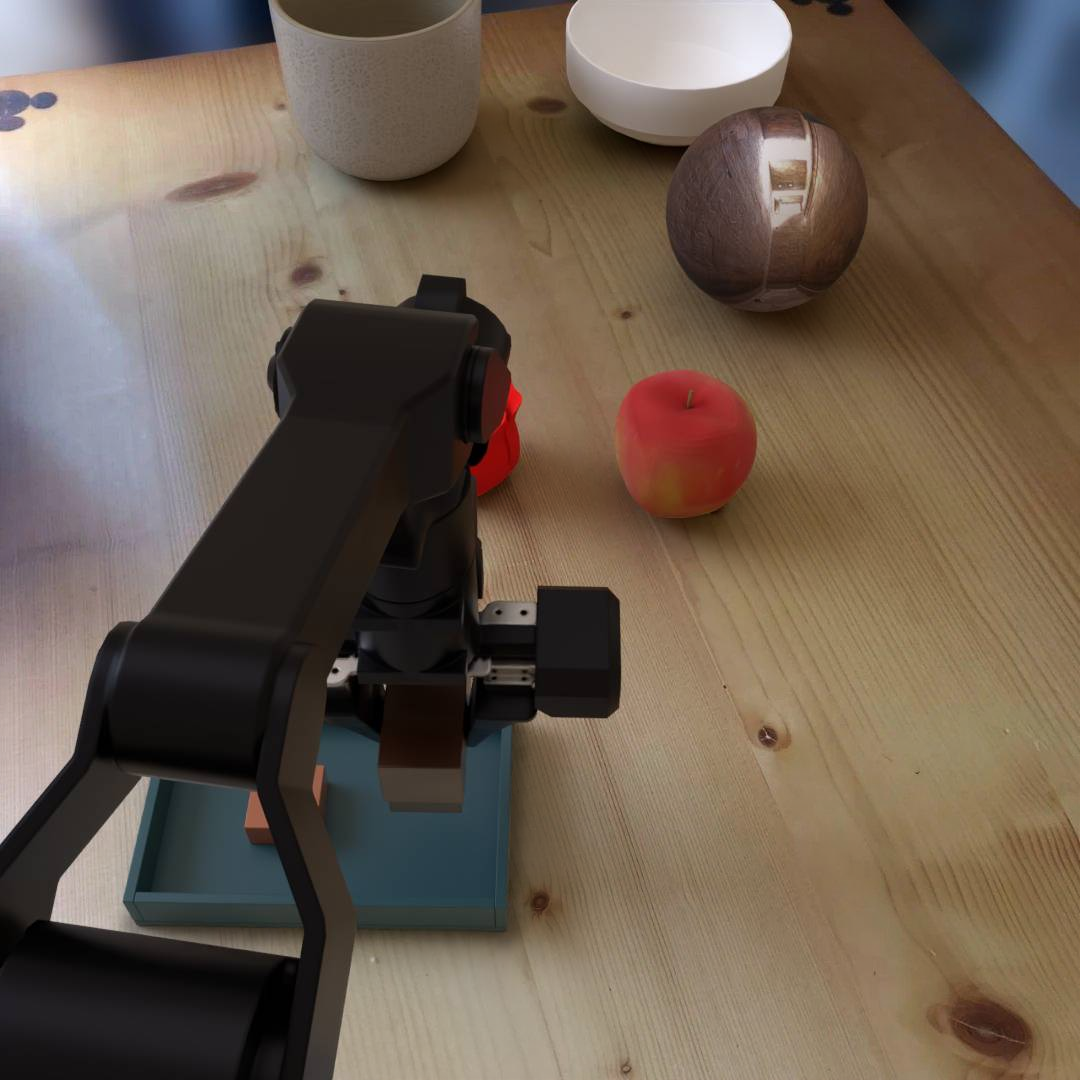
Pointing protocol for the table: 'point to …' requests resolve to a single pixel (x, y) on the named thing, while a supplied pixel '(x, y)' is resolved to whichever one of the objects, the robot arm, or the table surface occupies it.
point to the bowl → (675, 63)
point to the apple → (684, 443)
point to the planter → (381, 80)
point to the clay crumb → (256, 818)
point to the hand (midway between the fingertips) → (430, 738)
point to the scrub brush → (424, 747)
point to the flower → (500, 448)
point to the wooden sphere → (766, 209)
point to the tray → (358, 841)
